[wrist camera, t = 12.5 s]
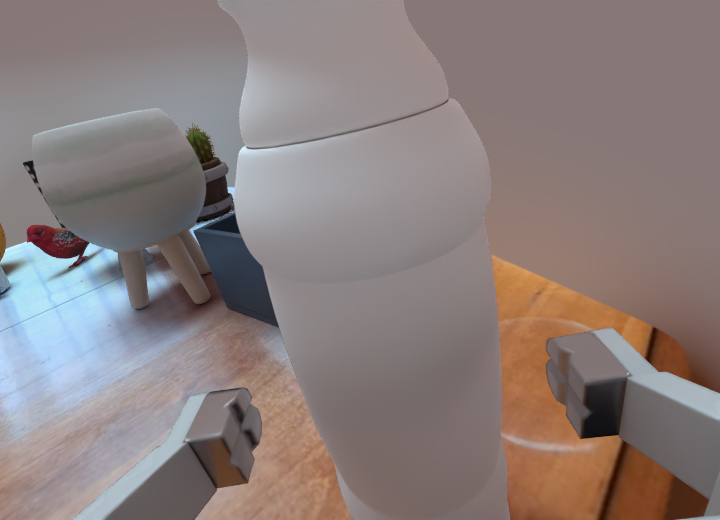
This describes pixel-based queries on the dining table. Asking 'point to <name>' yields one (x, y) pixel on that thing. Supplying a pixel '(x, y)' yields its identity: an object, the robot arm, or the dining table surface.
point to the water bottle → (375, 253)
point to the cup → (3, 281)
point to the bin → (236, 269)
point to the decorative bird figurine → (57, 242)
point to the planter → (128, 192)
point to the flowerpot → (211, 177)
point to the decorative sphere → (2, 242)
